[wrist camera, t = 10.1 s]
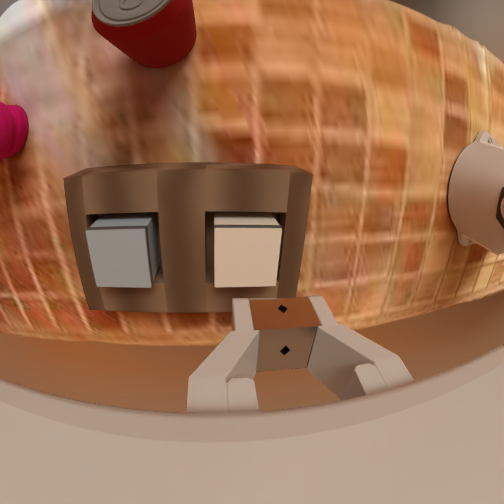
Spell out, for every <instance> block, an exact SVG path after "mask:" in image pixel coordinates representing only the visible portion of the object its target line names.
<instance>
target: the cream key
mask: <svg viewBox="0 0 504 504" xmlns="http://www.w3.org/2000/svg"><path fill="white" fill-rule="evenodd" d="M281 235H282V227H281V225H279V224H278V222H277V221H276V219H275V218H274V216H273V215H272V213H271V212H236V211H214V287H260V286H276V279H277V271H278V262H279V253H280V244H281Z"/></svg>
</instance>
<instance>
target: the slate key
mask: <svg viewBox="0 0 504 504" xmlns="http://www.w3.org/2000/svg"><path fill="white" fill-rule="evenodd" d="M86 237H87V243H88V248H89V253H90V258H91V263H92V268H93V273H94V277H95V281H96V285H97V287H135V288H152V287H153V281H154V278H155V275H156V272H157V269H158V266H159V263H160V257H159V246H158V234H157V219H156V212H136V213H108V214H103V215H102V216H101V217H100V218H99V219H98V220H97V221H95V222H94V223H93V224H92V225H91V226H90V227H88V228H87V229H86Z"/></svg>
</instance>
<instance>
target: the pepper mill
mask: <svg viewBox="0 0 504 504" xmlns="http://www.w3.org/2000/svg"><path fill="white" fill-rule="evenodd" d="M27 134H28V118H27V115H26V112H25V111H24V109H23V108H22V107H20V106H18V105H7V106H6V105H5V104H3V103H1V102H0V162H1V160H2V159H4V158H8V157H11V156H14V155H15V154H17V153H18V152H19V151H20V150H21V148H22V147H23V145H24V143H25V140H26V137H27Z"/></svg>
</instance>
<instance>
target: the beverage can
mask: <svg viewBox="0 0 504 504" xmlns="http://www.w3.org/2000/svg"><path fill="white" fill-rule="evenodd" d="M92 23H93V26H94V28H95V30H96V31H97V32H98V33H99V34H100V35H101V36H103V37H104V38H105V39H106V40H108V41H109V42H110V43H112V44H113V45H114V46H115V47H117V48H118V49H119V50H121V51H122V52H123V53H125V54H126V55H127V56H129V57H130V58H131V59H133V60H134V61H136V62H137V63H138V64H140V65H142V66H145V67H149V68H162V67H166V66H170V65H172V64H174V63H176V62H178V61H180V60H181V59H183V58H184V57H185V56H186V55H187V54H188V53H189V52H190V50H191V49H192V47H193V46H194V43H195V40H196V24H195V16H194V10H193V3H192V0H92Z"/></svg>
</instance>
